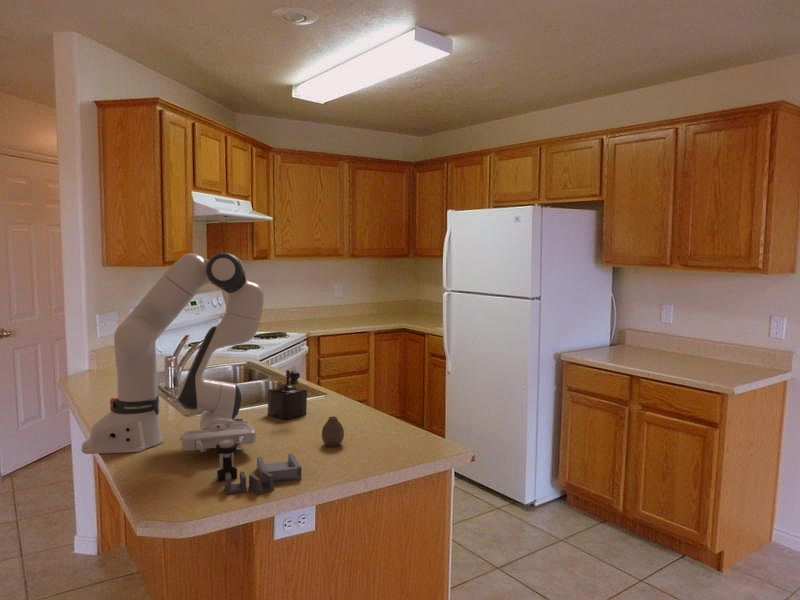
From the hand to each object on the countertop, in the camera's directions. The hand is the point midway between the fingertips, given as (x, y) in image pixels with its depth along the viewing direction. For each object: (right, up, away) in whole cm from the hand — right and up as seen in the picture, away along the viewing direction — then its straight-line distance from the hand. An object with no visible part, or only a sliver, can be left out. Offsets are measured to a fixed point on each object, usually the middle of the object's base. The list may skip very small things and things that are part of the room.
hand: (221, 446), depth 159 cm
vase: (+28, -5, +20) cm, 35 cm away
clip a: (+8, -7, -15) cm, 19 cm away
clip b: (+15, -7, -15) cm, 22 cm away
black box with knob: (+10, -2, +50) cm, 51 cm away
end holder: (+17, -6, -4) cm, 18 cm away
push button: (+3, -7, -8) cm, 11 cm away
